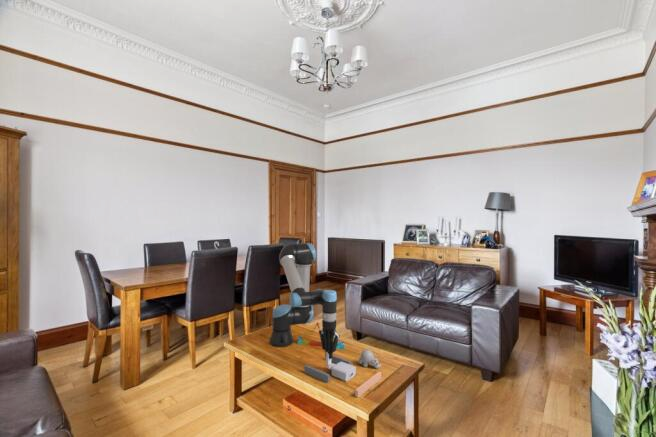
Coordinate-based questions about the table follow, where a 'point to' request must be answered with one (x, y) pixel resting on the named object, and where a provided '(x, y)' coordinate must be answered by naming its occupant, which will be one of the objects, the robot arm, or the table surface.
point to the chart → (317, 342)
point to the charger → (342, 370)
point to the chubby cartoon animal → (368, 359)
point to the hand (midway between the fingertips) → (328, 363)
